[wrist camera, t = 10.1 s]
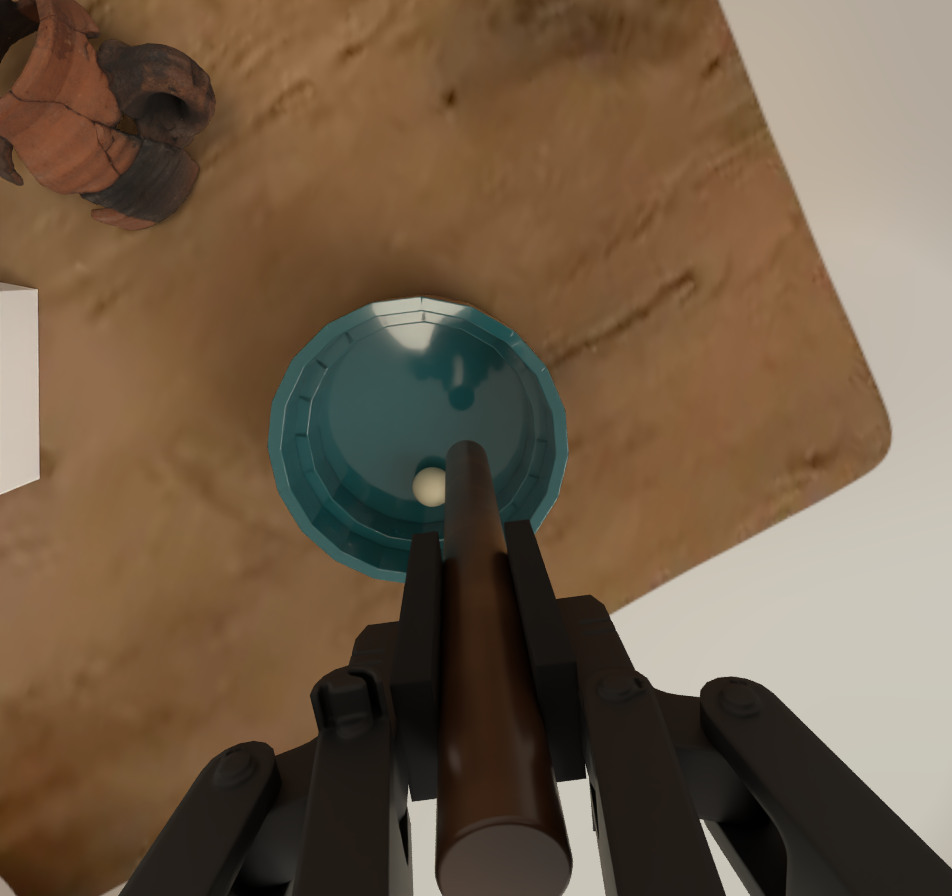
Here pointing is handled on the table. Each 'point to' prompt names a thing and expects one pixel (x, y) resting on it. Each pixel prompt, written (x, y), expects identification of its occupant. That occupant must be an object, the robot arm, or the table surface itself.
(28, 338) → the milk
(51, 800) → the table surface
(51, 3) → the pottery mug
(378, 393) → the bowl
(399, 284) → the table surface
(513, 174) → the table surface
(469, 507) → the stirring stick
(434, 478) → the bead
